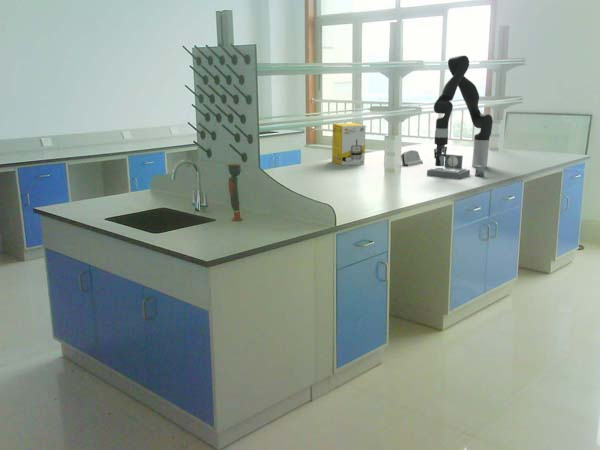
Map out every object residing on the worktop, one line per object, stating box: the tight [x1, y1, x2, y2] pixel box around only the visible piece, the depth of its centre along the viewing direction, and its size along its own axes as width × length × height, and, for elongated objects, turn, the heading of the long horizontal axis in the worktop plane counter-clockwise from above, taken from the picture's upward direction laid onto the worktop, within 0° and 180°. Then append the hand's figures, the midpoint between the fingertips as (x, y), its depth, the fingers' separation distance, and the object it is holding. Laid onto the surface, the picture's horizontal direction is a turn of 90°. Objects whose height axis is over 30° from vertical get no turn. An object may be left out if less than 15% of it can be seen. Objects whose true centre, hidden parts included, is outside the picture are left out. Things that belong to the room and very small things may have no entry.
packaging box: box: [331, 122, 366, 166], centre depth 394 cm, size 16×16×25 cm
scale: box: [426, 153, 471, 180], centre depth 353 cm, size 16×20×11 cm
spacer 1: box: [434, 155, 445, 167], centre depth 354 cm, size 5×5×6 cm
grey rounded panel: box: [400, 149, 424, 167], centre depth 392 cm, size 17×5×10 cm, turn 135°
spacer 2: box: [474, 165, 486, 178], centre depth 351 cm, size 5×5×6 cm
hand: (439, 164), depth 354 cm, fingers closed on spacer 1, 5 cm apart
